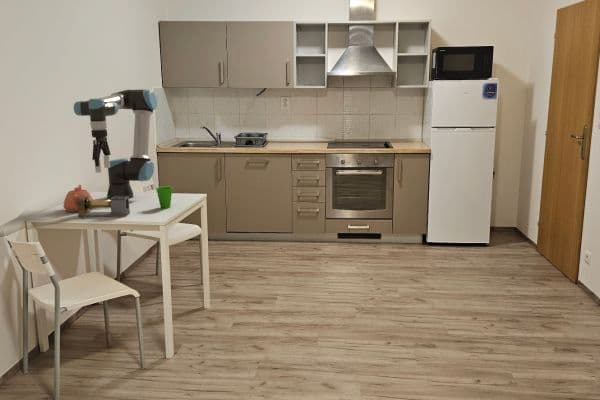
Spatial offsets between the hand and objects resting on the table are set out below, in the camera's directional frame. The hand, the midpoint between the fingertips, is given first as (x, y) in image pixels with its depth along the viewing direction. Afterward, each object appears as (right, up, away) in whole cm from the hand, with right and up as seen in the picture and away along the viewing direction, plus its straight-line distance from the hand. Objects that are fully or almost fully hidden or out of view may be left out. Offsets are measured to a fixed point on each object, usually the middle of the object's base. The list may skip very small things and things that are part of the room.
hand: (103, 170), depth 286 cm
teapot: (-17, -21, +12) cm, 30 cm away
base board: (+1, -24, -1) cm, 24 cm away
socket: (-9, -24, -1) cm, 25 cm away
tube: (-2, -20, -2) cm, 20 cm away
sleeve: (+10, -23, -1) cm, 25 cm away
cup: (+29, -20, +16) cm, 38 cm away
